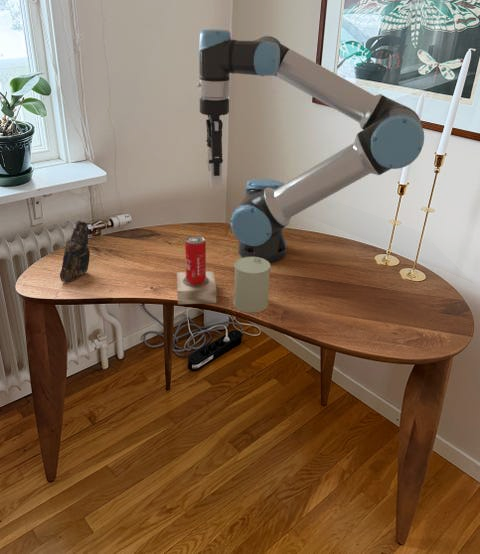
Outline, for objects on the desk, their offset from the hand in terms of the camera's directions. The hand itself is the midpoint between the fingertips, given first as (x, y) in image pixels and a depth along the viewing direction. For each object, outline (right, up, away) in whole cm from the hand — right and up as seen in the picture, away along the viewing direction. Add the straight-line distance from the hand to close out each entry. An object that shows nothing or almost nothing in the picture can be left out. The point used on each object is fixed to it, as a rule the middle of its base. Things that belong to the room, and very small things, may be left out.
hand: (214, 178), depth 142 cm
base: (-5, -31, -2) cm, 32 cm away
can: (+10, -34, -5) cm, 36 cm away
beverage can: (-5, -28, -3) cm, 29 cm away
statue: (-39, -26, +6) cm, 47 cm away
